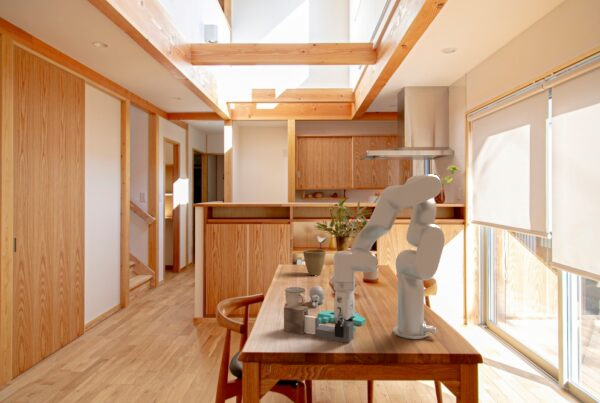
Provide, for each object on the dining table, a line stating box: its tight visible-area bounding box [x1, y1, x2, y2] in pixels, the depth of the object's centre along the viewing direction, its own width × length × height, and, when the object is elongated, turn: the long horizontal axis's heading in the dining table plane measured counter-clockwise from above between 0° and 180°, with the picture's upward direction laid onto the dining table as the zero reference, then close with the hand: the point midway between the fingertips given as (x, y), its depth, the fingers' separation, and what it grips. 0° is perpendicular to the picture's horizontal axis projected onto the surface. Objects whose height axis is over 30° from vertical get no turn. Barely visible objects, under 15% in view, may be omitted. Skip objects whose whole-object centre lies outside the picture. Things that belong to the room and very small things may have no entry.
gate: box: [304, 315, 320, 335], centre depth 145 cm, size 13×2×6 cm, turn 64°
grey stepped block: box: [314, 320, 355, 344], centre depth 139 cm, size 13×5×6 cm, turn 64°
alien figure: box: [317, 310, 367, 332], centre depth 158 cm, size 20×2×20 cm
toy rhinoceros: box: [308, 285, 325, 308], centre depth 182 cm, size 7×12×8 cm, turn 165°
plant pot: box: [302, 249, 326, 276], centre depth 251 cm, size 15×15×16 cm
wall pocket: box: [283, 303, 309, 335], centre depth 146 cm, size 8×5×9 cm, turn 64°
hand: (343, 332), depth 138 cm, fingers open, 9 cm apart
